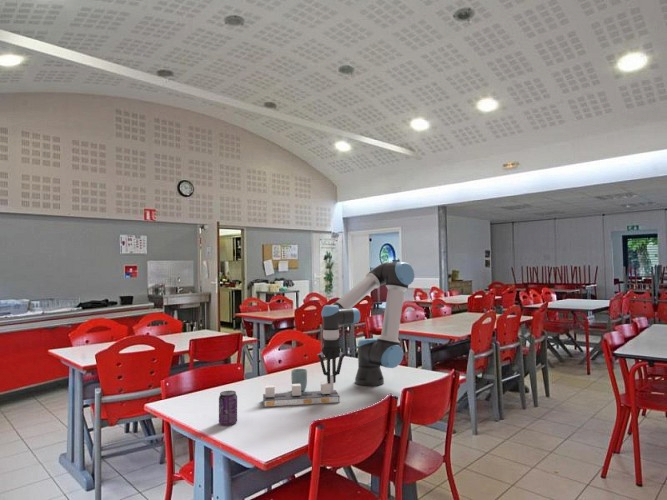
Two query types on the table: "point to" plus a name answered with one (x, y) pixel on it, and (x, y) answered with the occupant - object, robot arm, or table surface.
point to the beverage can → (228, 407)
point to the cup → (299, 377)
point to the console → (300, 399)
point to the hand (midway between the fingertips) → (331, 389)
